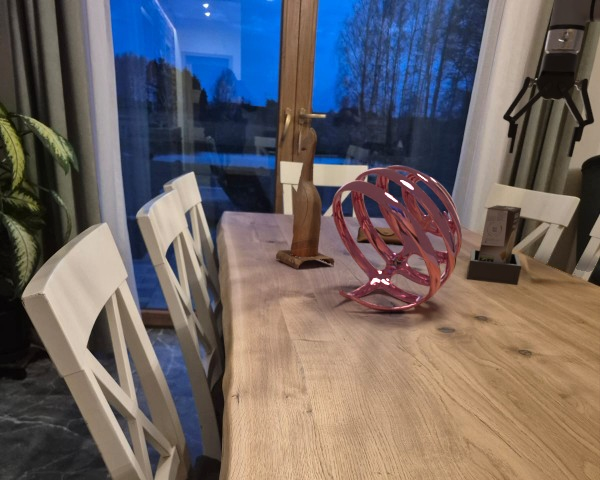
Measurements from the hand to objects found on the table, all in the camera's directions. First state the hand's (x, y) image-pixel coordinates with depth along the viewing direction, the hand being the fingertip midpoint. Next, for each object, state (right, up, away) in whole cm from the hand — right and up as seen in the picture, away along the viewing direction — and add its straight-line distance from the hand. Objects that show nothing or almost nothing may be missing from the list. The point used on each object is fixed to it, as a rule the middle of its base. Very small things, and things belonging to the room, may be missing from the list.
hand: (539, 155), depth 140 cm
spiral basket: (-40, -39, -19) cm, 59 cm away
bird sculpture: (-57, -24, +9) cm, 63 cm away
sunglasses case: (-31, -10, +42) cm, 53 cm away
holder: (-9, -27, +8) cm, 30 cm away
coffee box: (-9, -27, +8) cm, 30 cm away
